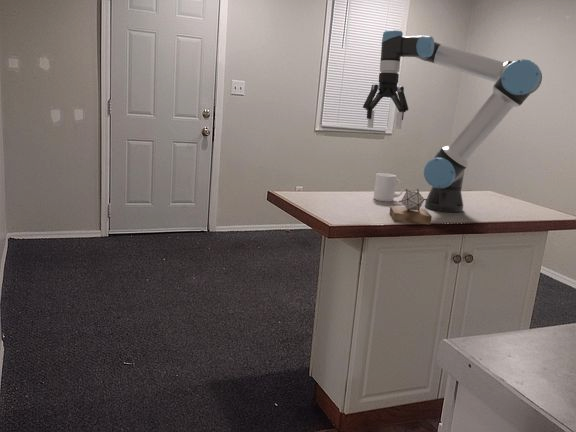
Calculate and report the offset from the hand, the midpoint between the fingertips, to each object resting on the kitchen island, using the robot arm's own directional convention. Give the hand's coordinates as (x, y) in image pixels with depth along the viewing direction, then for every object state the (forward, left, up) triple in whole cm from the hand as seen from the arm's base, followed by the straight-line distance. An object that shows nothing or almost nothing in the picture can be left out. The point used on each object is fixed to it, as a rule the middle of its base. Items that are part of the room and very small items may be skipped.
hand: (384, 128), depth 209 cm
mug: (-6, -10, -31) cm, 33 cm away
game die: (-10, +24, -28) cm, 38 cm away
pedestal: (-10, +24, -31) cm, 40 cm away
